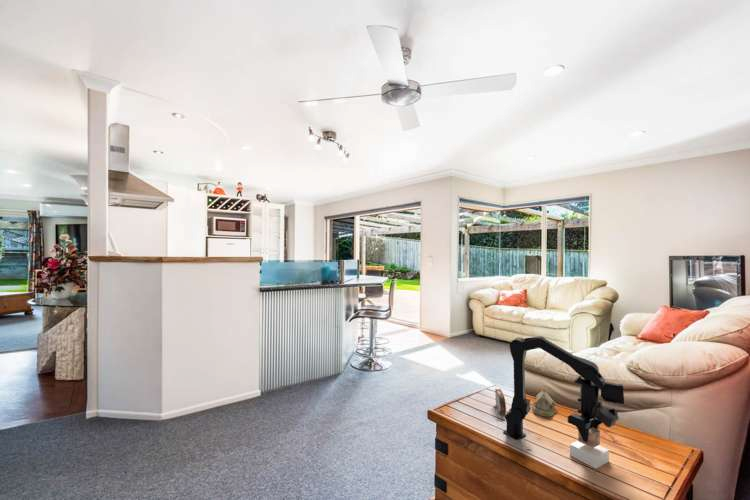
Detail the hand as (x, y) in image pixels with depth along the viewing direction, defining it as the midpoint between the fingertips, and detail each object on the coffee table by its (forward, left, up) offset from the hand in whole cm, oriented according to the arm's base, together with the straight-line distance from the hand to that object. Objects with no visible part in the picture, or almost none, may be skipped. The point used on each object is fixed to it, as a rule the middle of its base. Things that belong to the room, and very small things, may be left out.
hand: (589, 439), depth 120 cm
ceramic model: (+23, +31, -7) cm, 39 cm away
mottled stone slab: (+4, +42, -7) cm, 43 cm away
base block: (0, 0, -7) cm, 7 cm away
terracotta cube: (0, 0, -1) cm, 1 cm away
